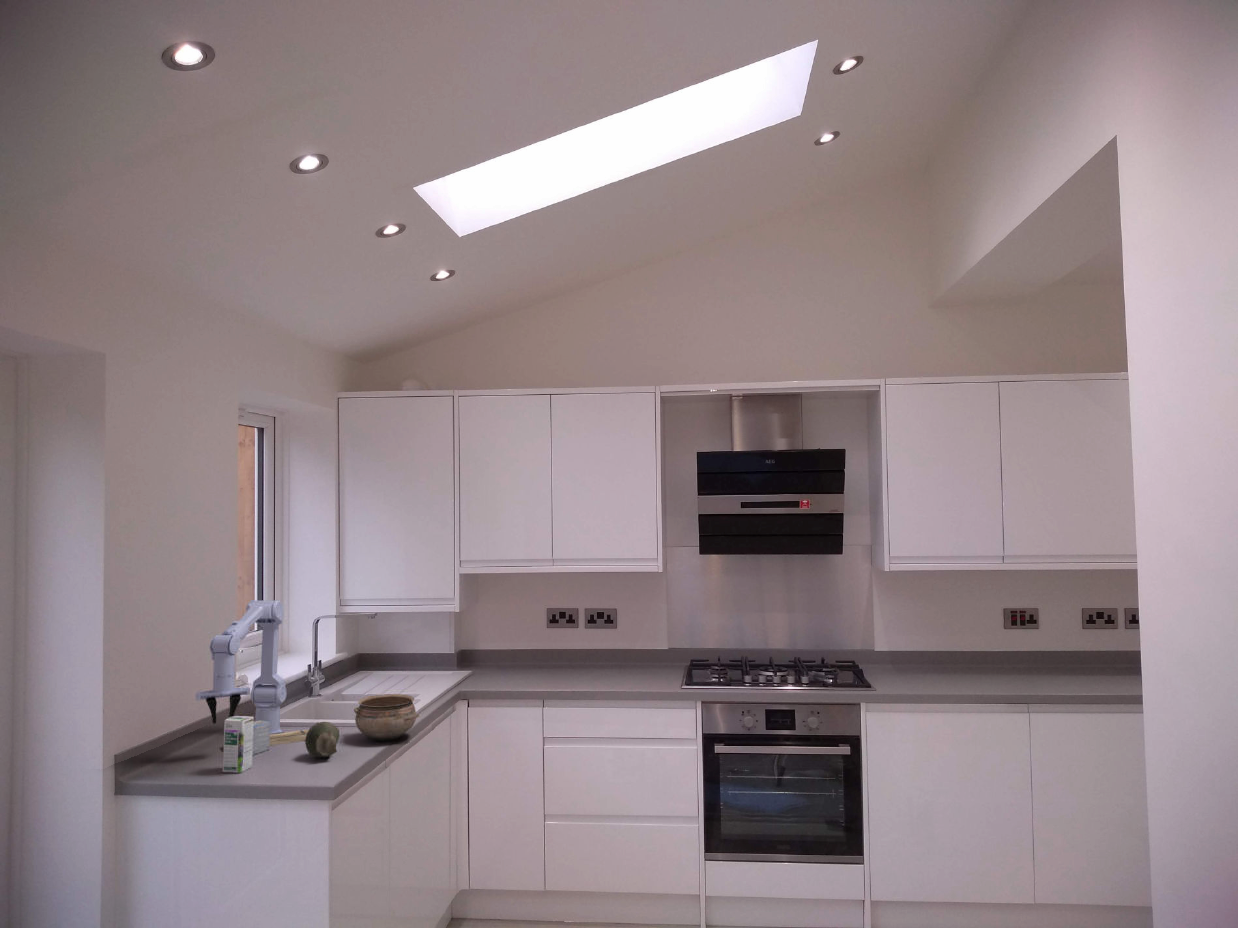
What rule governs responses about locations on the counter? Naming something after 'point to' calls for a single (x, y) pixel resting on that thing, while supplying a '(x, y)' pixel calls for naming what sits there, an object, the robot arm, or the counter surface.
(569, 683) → the counter surface
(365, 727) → the cooking pot
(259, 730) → the medicine box
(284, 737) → the pine board
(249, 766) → the syrup box
